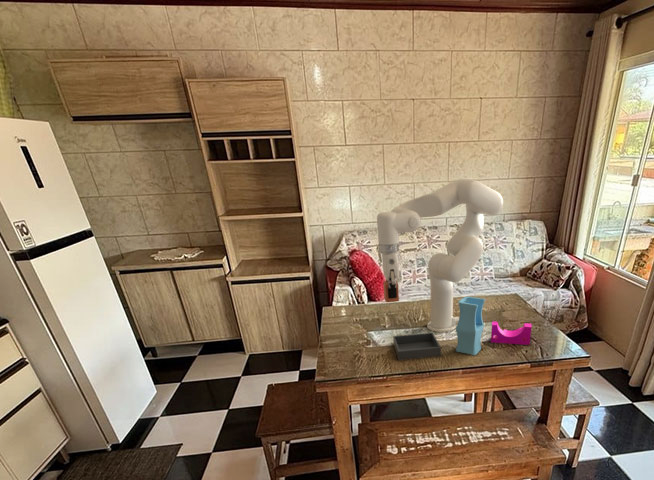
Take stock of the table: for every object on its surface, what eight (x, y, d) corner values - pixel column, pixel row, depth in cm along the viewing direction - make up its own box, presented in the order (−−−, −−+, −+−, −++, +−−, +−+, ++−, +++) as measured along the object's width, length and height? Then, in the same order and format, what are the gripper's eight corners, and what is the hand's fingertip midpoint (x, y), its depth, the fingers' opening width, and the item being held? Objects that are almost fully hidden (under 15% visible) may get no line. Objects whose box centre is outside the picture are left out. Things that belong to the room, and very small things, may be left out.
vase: (474, 356, 153) (477, 305, 143) (455, 351, 157) (456, 302, 147) (482, 348, 159) (485, 298, 149) (463, 344, 163) (465, 295, 153)
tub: (432, 341, 166) (432, 332, 164) (440, 356, 154) (440, 347, 152) (393, 345, 164) (393, 336, 163) (398, 360, 152) (398, 351, 150)
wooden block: (396, 297, 162) (395, 280, 159) (398, 301, 158) (398, 283, 155) (384, 298, 162) (383, 281, 158) (386, 302, 157) (385, 284, 154)
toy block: (529, 338, 165) (531, 321, 162) (529, 344, 160) (531, 327, 156) (491, 336, 169) (492, 319, 165) (490, 342, 164) (491, 324, 160)
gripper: (403, 252, 143) (404, 301, 152) (395, 242, 158) (397, 288, 167) (382, 253, 142) (385, 303, 151) (375, 244, 157) (379, 290, 166)
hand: (391, 295), depth 159 cm, fingers closed on wooden block, 5 cm apart
